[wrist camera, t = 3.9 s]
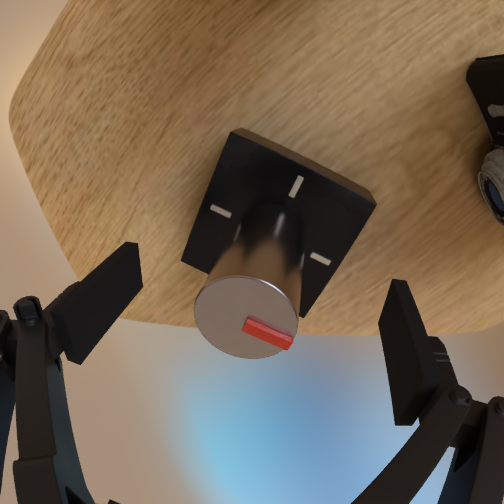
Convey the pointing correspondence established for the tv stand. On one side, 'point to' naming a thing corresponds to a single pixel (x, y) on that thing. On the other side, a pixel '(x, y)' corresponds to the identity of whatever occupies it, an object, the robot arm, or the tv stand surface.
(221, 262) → the dial
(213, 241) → the dial panel
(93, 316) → the robot arm
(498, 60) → the camera
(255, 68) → the tv stand surface
